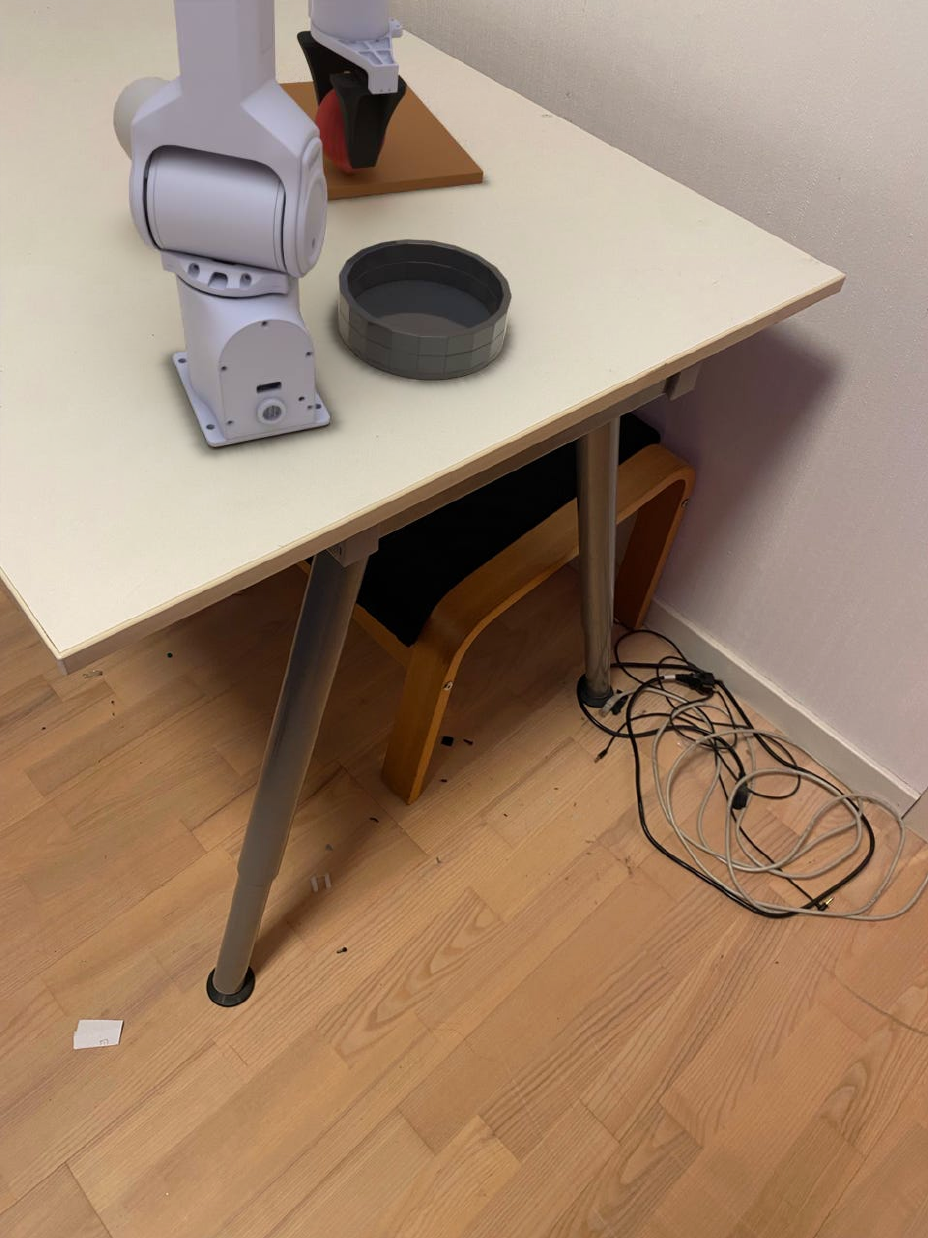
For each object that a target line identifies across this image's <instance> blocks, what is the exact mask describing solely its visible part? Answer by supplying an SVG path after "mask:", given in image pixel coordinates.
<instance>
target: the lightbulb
mask: <svg viewBox="0 0 928 1238" xmlns="http://www.w3.org/2000/svg"><path fill="white" fill-rule="evenodd" d="M171 81H172V80H169V79H165V78H162V77H158V76H145V77H141V78H138V79H136V80H134V81H132V82H130V83H129V84H127V85H126V86H125V87H124V88H123V89H122V91H121V92H120V94H119V95H118V98H117V100H116V101H115V104H114V109H113V118H112V119H113V120H112V121H113V123H112V124H113V129H114V132H115V136H116V138H117V140H118V143H119V145H120V147H121V148H122V150H123V152H124V153H125V154H126V156H127V157H128V158H129V160H130V161H131V162H132V148H131V132H130V130H131V123H132V121H133V119H134V117H135V115H136V113H137V111H138V109H139V107H140V106H141V105H142V103H143V102H144V101H145V100H146V99H147V98H148V97H150V96H151V95H152V94H153V93H155V92H156V91H158V90H159V89H161V88H162V87H164V86H165V85H166V84H168V83H169V82H171Z"/></svg>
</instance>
